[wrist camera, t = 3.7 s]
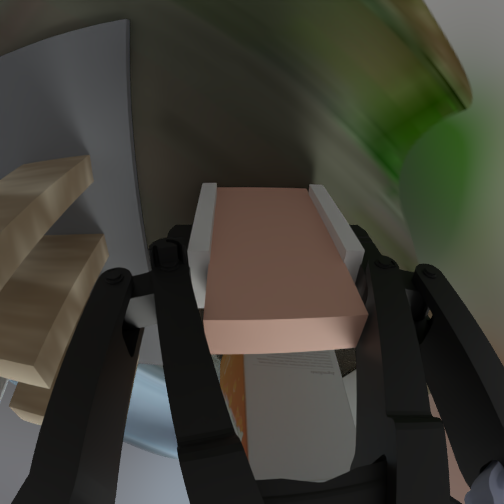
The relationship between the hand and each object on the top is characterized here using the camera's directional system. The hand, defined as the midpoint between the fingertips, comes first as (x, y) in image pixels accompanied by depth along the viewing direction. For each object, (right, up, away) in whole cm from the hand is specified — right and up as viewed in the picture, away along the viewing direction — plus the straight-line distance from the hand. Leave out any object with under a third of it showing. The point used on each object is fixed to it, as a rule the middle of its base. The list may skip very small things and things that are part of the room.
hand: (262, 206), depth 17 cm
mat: (-12, -1, +1) cm, 12 cm away
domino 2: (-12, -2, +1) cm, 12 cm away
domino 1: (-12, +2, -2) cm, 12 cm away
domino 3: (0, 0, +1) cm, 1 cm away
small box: (+1, -9, +7) cm, 12 cm away
